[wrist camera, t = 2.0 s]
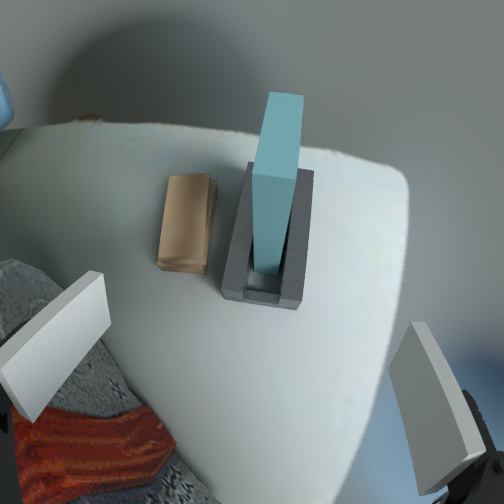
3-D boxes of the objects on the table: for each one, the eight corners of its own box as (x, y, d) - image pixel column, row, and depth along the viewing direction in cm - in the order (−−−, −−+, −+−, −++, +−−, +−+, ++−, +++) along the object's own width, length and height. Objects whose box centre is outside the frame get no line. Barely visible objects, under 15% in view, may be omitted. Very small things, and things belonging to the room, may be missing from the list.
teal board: (254, 271, 32) (251, 173, 16) (265, 208, 35) (269, 91, 19) (277, 275, 32) (296, 179, 16) (285, 211, 35) (303, 96, 19)
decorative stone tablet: (198, 619, 4) (-17, 212, 16) (117, 626, 3) (-55, 259, 14) (240, 505, 21) (91, 296, 33) (193, 529, 20) (58, 323, 31)
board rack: (225, 299, 31) (220, 289, 27) (249, 182, 36) (248, 161, 33) (296, 310, 30) (301, 301, 27) (308, 190, 36) (313, 170, 32)
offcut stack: (162, 271, 32) (150, 256, 28) (179, 189, 37) (171, 168, 33) (209, 275, 32) (202, 260, 28) (221, 190, 36) (217, 169, 32)
